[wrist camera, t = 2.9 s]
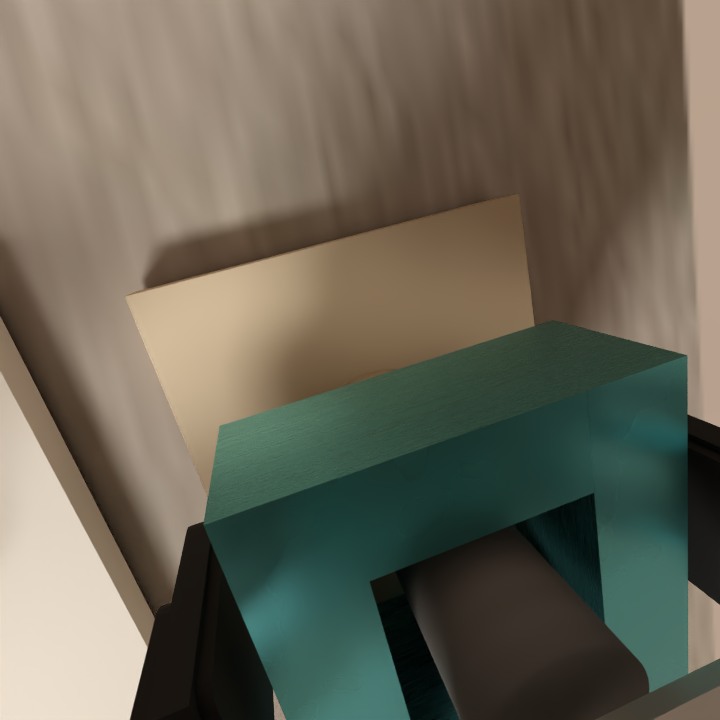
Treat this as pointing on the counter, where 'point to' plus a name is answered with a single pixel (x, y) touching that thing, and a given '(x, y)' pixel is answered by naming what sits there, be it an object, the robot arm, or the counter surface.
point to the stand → (379, 356)
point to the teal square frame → (455, 508)
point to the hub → (59, 574)
